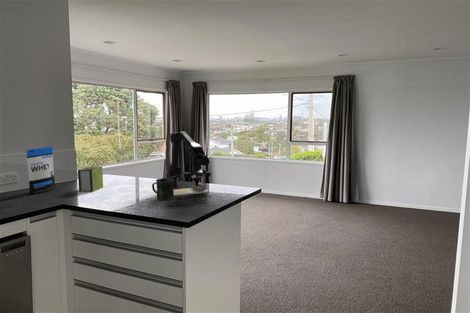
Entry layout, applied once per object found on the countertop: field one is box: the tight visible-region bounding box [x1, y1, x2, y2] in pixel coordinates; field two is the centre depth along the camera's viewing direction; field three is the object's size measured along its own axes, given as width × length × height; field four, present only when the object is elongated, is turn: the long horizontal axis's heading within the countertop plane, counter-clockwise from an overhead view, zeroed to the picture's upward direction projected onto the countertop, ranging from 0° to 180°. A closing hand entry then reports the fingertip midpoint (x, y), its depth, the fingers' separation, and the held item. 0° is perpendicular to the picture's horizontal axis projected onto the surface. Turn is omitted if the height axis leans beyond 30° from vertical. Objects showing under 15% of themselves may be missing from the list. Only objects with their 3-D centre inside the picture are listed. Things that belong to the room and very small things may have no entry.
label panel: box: [173, 187, 210, 197], centre depth 239 cm, size 15×24×2 cm, turn 113°
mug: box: [151, 177, 175, 201], centre depth 220 cm, size 11×15×12 cm
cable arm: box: [191, 180, 207, 191], centre depth 241 cm, size 17×4×4 cm, turn 30°
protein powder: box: [26, 146, 56, 196], centre depth 242 cm, size 10×24×30 cm, turn 170°
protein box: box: [77, 165, 104, 193], centre depth 248 cm, size 10×15×16 cm
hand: (196, 187), depth 237 cm, fingers closed
